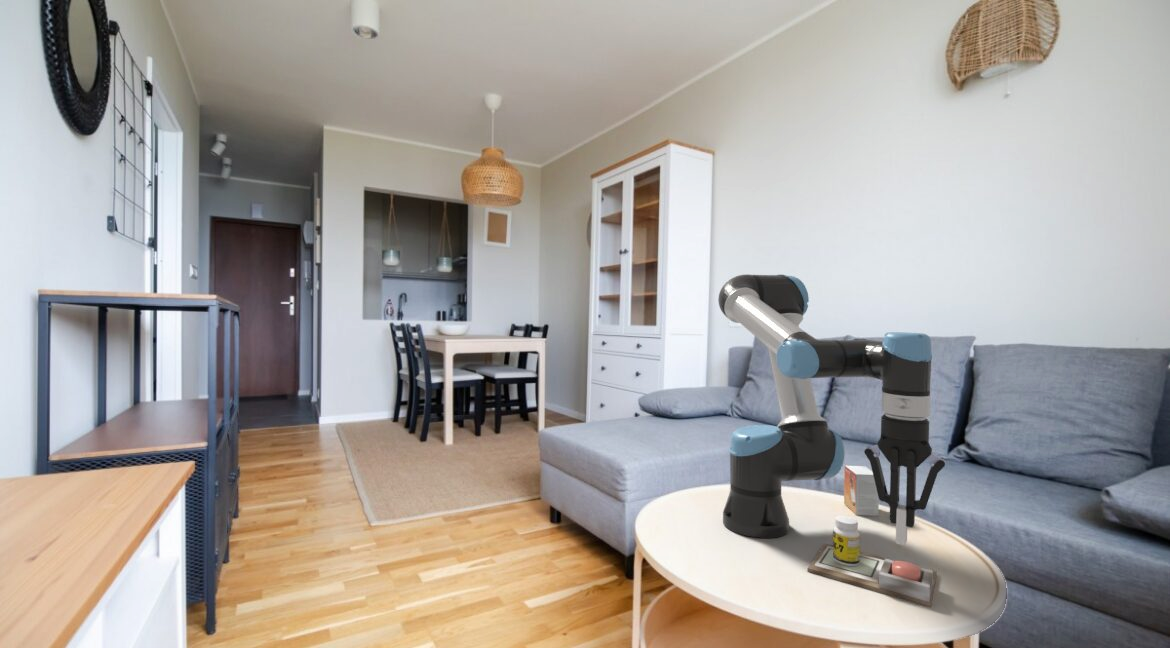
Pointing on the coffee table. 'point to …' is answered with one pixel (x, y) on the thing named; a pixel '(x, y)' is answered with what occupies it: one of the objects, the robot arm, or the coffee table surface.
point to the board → (875, 576)
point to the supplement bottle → (846, 541)
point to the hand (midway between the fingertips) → (901, 541)
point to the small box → (860, 491)
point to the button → (906, 570)
